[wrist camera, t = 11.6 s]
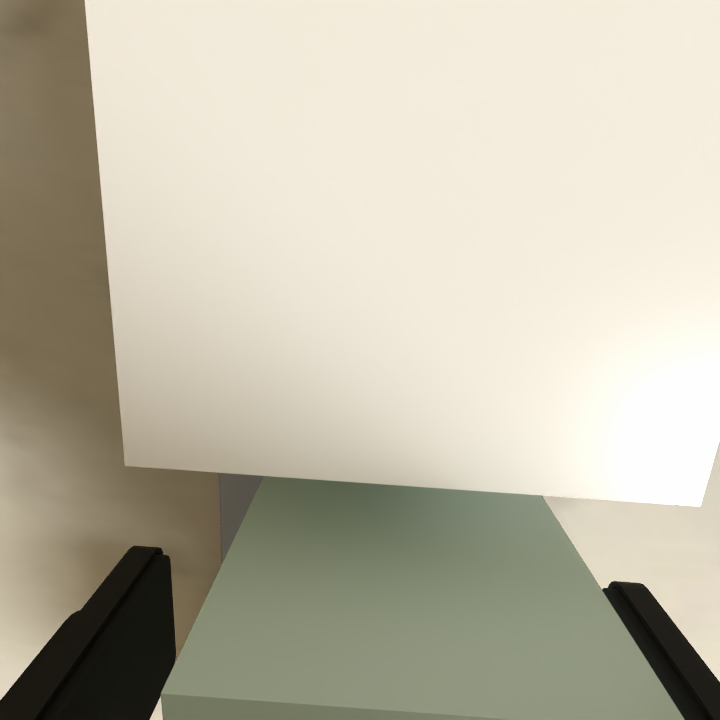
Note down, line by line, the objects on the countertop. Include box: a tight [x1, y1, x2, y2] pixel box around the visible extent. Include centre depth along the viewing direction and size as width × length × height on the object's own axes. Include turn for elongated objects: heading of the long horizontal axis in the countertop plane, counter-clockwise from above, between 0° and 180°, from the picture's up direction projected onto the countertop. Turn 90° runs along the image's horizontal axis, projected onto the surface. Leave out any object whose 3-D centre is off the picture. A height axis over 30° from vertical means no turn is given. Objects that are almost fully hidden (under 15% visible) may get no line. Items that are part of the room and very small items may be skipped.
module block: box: [161, 476, 685, 720], centre depth 9 cm, size 5×8×9 cm, turn 177°
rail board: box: [85, 0, 720, 563], centre depth 11 cm, size 10×25×9 cm, turn 177°
